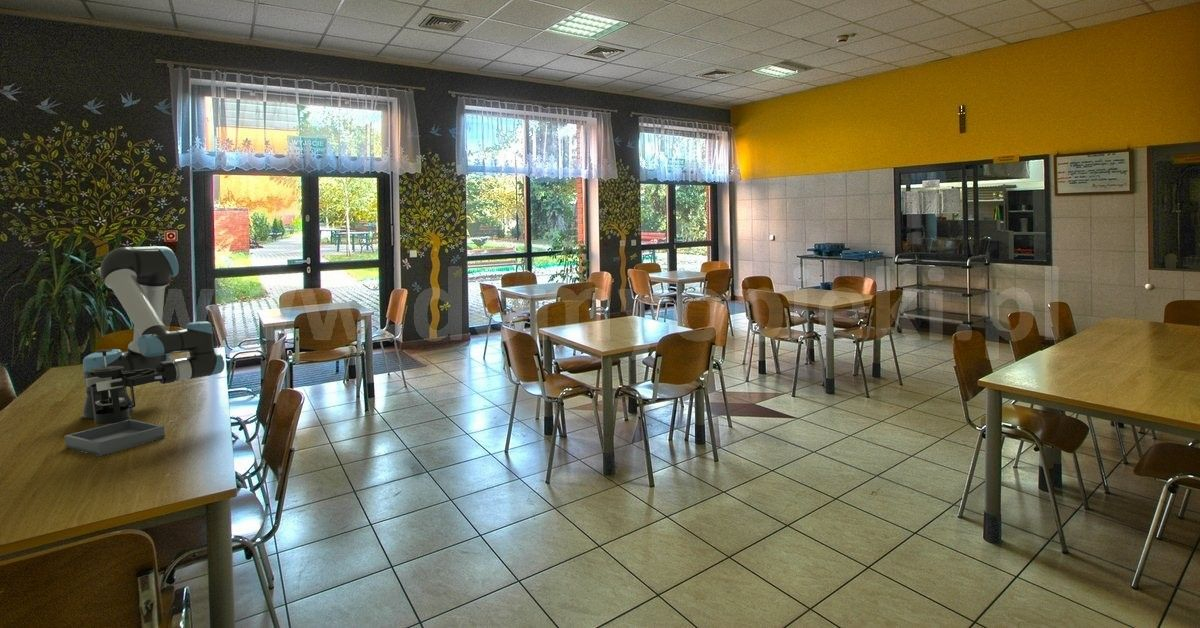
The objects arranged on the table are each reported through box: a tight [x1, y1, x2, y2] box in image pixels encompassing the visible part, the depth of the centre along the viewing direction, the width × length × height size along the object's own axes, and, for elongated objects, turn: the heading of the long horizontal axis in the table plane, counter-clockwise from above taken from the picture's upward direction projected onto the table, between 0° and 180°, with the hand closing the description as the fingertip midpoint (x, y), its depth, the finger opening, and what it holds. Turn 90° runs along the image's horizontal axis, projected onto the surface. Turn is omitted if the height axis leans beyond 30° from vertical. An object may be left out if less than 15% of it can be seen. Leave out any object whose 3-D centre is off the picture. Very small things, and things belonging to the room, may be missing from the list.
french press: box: [88, 348, 136, 426], centre depth 202 cm, size 12×9×23 cm
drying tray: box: [64, 418, 166, 457], centre depth 205 cm, size 19×19×4 cm
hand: (91, 384), depth 198 cm, fingers closed on french press, 8 cm apart
